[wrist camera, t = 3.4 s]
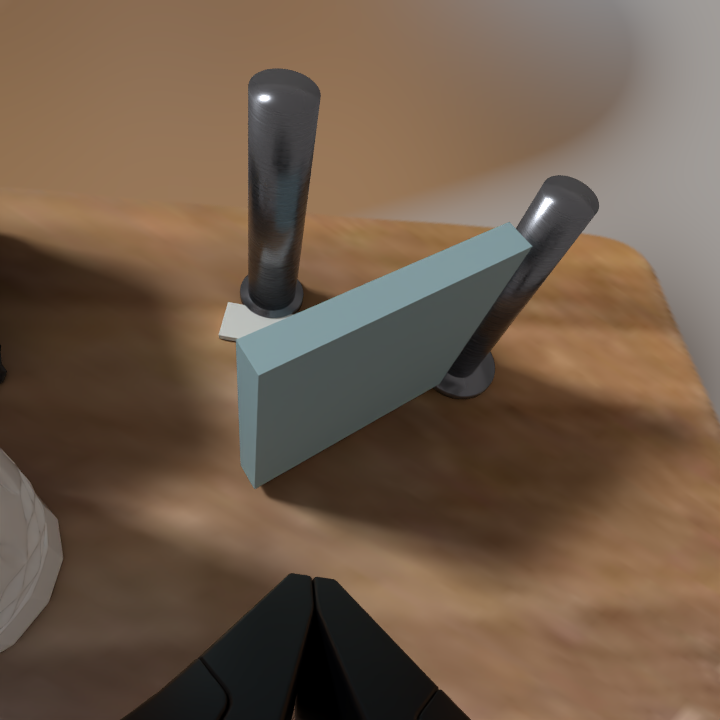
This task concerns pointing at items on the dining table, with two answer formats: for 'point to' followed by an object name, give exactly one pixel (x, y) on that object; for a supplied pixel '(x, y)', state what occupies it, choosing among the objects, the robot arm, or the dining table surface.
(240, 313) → the strip
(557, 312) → the dining table surface
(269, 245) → the post
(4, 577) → the white cup
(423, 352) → the gate
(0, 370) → the holed cube box
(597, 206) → the hinge post
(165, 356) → the dining table surface
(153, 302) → the dining table surface
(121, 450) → the dining table surface
